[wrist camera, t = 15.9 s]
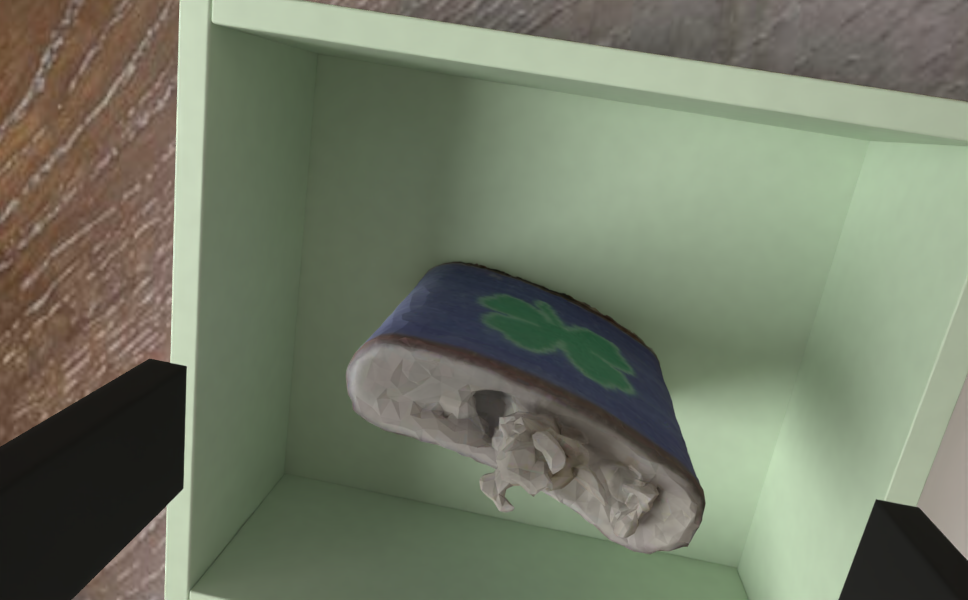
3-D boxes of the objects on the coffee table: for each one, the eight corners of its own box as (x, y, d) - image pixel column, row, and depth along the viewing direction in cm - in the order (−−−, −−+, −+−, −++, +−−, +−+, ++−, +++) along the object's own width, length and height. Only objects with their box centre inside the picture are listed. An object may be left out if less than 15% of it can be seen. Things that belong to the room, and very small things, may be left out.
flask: (411, 307, 24) (296, 444, 14) (442, 235, 23) (345, 323, 13) (640, 415, 24) (698, 633, 14) (680, 347, 23) (773, 524, 13)
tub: (272, 475, 27) (162, 607, 20) (307, 28, 23) (178, -19, 15) (747, 575, 26) (820, 758, 18) (891, 119, 21) (1068, 116, 14)
